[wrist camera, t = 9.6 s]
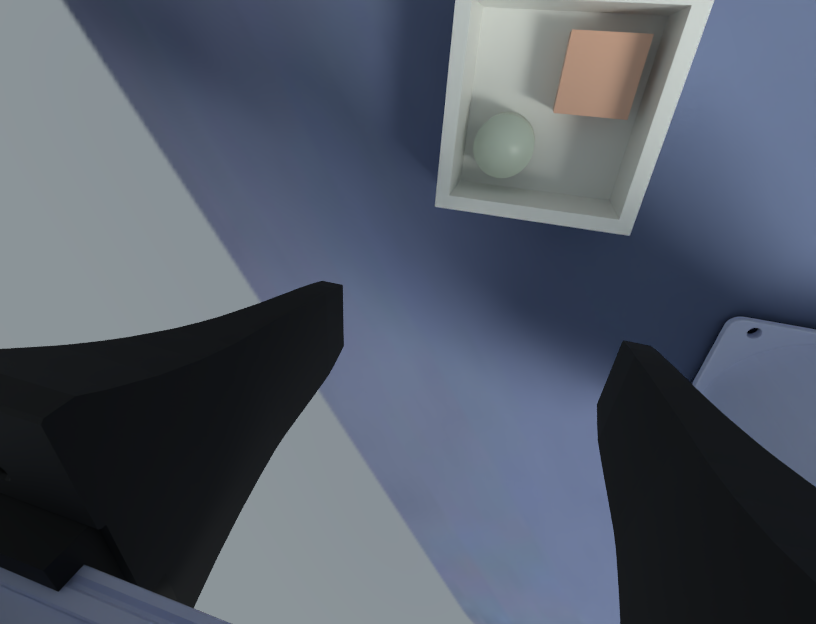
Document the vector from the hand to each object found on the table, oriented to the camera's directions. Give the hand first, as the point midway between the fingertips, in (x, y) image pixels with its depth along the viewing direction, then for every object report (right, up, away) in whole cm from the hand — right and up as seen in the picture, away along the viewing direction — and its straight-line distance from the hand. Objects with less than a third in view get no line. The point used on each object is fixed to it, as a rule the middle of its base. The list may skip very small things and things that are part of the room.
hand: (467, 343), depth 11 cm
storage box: (+4, +9, +5) cm, 11 cm away
